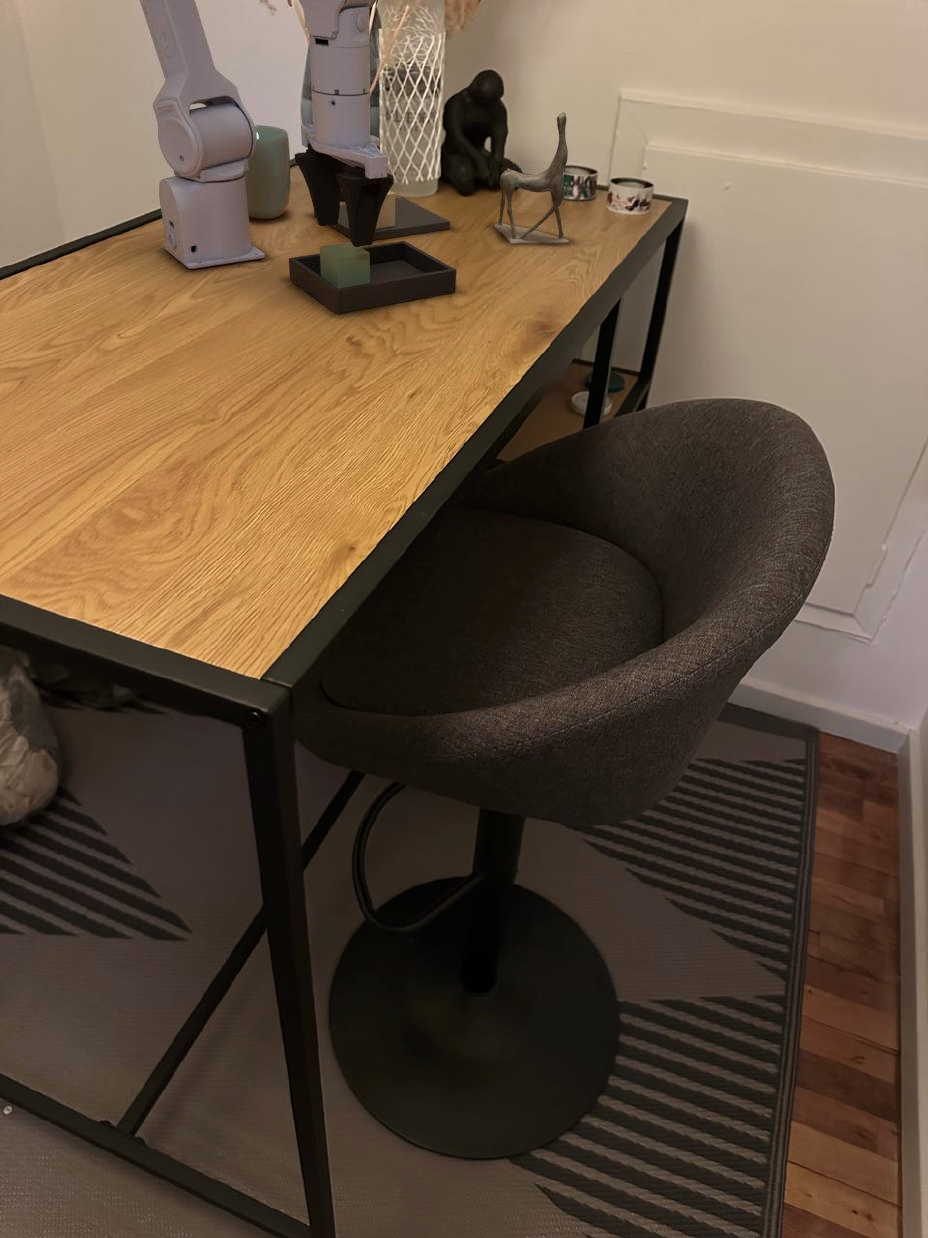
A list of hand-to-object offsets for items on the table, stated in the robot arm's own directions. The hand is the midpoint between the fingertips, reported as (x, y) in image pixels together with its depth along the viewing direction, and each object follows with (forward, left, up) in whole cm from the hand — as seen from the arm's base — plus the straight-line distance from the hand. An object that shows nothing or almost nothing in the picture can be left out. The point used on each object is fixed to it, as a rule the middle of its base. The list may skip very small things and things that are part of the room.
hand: (344, 234), depth 97 cm
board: (+16, +20, -6) cm, 27 cm away
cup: (+3, +29, -6) cm, 30 cm away
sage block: (0, 0, -6) cm, 6 cm away
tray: (+3, 0, -6) cm, 7 cm away
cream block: (+13, +17, -5) cm, 22 cm away
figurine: (+30, +7, -6) cm, 32 cm away
